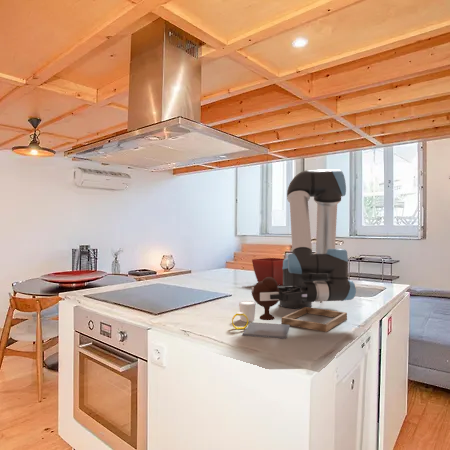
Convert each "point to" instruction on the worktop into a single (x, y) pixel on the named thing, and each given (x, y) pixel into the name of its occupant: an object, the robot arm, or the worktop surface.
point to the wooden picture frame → (292, 321)
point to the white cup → (247, 310)
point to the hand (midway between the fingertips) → (255, 293)
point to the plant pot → (269, 269)
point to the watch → (240, 315)
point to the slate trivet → (267, 330)
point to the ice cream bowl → (262, 287)
